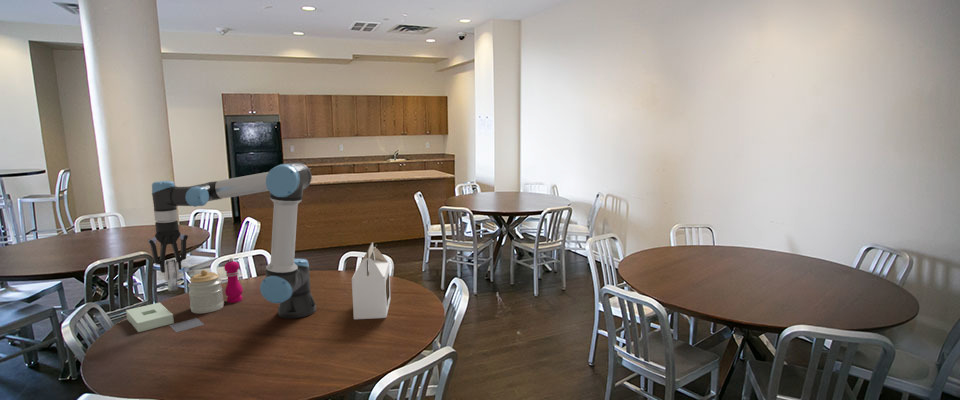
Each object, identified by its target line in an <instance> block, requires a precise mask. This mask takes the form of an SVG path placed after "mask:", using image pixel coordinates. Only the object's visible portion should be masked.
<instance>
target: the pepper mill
mask: <svg viewBox="0 0 960 400" xmlns="http://www.w3.org/2000/svg"><path fill="white" fill-rule="evenodd" d="M223 269H224V271H225V274H226V275H225V276H226V277H227V283H226V287H225V290H224V294H225V295H226V302H227V303H229V304H230V303H231V304H234V303H238V302H241V301H242V300H243V295H242V294H243V292H244V290H243V286H242V285H241V283H240V281H239V277H238V275H239V274H240V273H239V269H240V264H239V262H238V261H234V258H233V257H230V258H228V261H227V262H226V263H225V264H224V268H223Z"/></svg>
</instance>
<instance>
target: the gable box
mask: <svg viewBox="0 0 960 400" xmlns="http://www.w3.org/2000/svg"><path fill="white" fill-rule="evenodd" d="M377 246H378V245H377V243H376V244H375V246H374V242H371V243H370V245H369V247H368V248H367V251H366V253H365V255H364V256H363V258H362V259H361V261H360V263H359V264H358V265H357V268H356V270H355V271H354V273H353V276H352V277H351V289H352V290H351V292H352V295H351V296H352V308H353V309H352V311H353V312H352V314H353V320H367V319H370V320H372V319H386V318H388V317H387V316H388V313H389V307H390V303H391V278H390V277H391V276H390V262H389V261H388V260H387V259H386V258H385V257H384V255H383V254H382V252H381V251H380V250H379V249H378V248H376V247H377Z"/></svg>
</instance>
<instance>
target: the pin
mask: <svg viewBox="0 0 960 400" xmlns="http://www.w3.org/2000/svg"><path fill="white" fill-rule="evenodd" d="M175 261H176V258H170V259H165V264H167V270H168V280H169V281H167V290H168V291H169V292H170V291H171V292H172V291H176V290H178V279H177V275H176V264H175Z"/></svg>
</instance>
